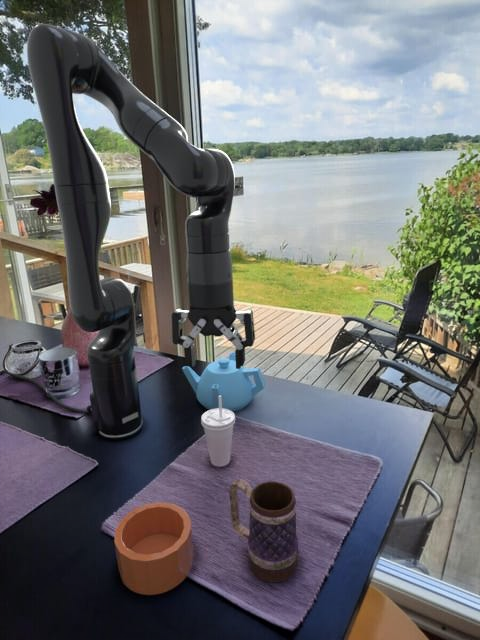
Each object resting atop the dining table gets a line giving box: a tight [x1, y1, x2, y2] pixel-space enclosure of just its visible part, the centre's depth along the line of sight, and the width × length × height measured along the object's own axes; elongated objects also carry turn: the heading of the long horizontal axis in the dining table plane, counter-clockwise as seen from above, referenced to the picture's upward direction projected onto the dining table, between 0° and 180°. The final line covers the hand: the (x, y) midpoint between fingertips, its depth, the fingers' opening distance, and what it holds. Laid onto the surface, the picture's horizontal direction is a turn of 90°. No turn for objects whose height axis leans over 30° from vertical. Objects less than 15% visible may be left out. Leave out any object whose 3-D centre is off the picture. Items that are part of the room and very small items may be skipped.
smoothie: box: [200, 395, 236, 467], centre depth 83 cm, size 6×6×14 cm
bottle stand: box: [113, 501, 194, 596], centre depth 62 cm, size 10×10×6 cm
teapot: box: [181, 351, 266, 413], centre depth 105 cm, size 15×15×11 cm
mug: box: [228, 478, 299, 583], centre depth 61 cm, size 10×7×12 cm
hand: (215, 366), depth 78 cm, fingers open, 8 cm apart
